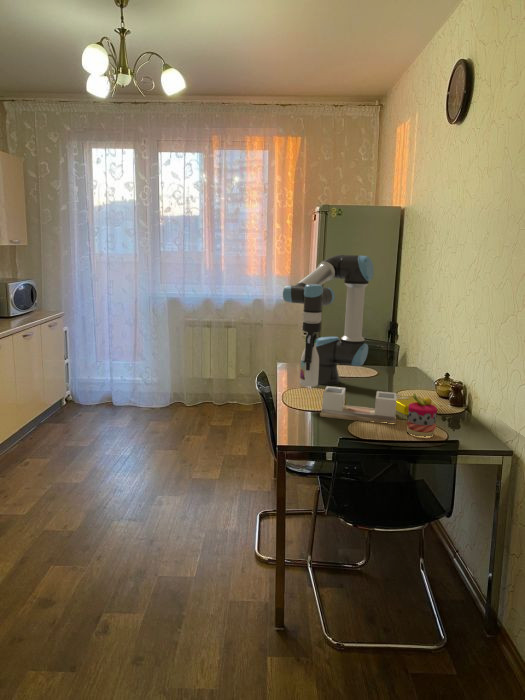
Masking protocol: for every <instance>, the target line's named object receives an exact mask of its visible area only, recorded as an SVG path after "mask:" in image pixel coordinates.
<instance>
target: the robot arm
mask: <svg viewBox="0 0 525 700" xmlns="http://www.w3.org/2000/svg"><path fill="white" fill-rule="evenodd" d="M374 270H375V269H374V263H373V261H372V259H371V257H370V256H367V255H360V254H359V255H355V254H353V255H348V254H337V255H334V256H331V257H328V258H326V259H324V260H323V261H321V262H320V263H318V265H317V266H316V269H314V270H313V271H311V272H310V273H309V274H308V275H306V276H305V277H304V278H302V279H301V280H300V281H298V282H297V283H296V284H295V285H293V284H291V285H286V286H284V288H283V291H282V297H283V301H284V302H286V303H291V304H302V305H303V312H302V314H301V316H303V317H302V321H303V322H302V331H303V332H305V333H307V335H306V336H305V340H306V342H305V343H306V344H305V347H304V349H305V360H304V361H303V362H305V376H304V377H305V378H311V370H312V361H311V360H312V351H313V347H314V342H315V339H316V340H317V341H316V350H317V352H318V355H319V375H318V385H326V386H328V385H329V386H330V385H337V384H339V383H340V374H339V370H338V368H337V367H338V364H341V365H348V366H351V367H353V366H354V367H361V366H363V365H364V363H365V361H366V360H367V357H368V353H369V345H368V344H367V343H365V338H364V337H363V322H364V307H365V294H366V293H365V292H366V287H367V286H368V285H369V282H370V281H372V280H373V278H374ZM333 279H337V280H338V279H340V280H343V281H344V283H343V284H344V285H345V286H346V299H345V300H346V301H345V303H346V304H345V319H344V333H343V334H344V335H343V336H341V337H340V338H339V337H338V336H321V337H317V333H320V332H321V331H322V328H321V327H322V326H321V325H322V323H321V322H322V313H323V312H322V309H323V307H324V306H326V307H327V306H329V305H331V304H332V303H333V302H334V301H335V299H336V293H335V291H334V290H333V289H332V288H331V287H324V286H323V285H324V283H327V282H328V281H331V280H333Z"/></svg>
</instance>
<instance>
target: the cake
mask: <svg viewBox="0 0 525 700" xmlns="http://www.w3.org/2000/svg"><path fill="white" fill-rule="evenodd" d="M412 396H413V397H414V399H415V400H416V401H417V402H415V403H411V404H409V408H408V411H409V412H408V413H409V414H408V415H406V416H407V418H406V419H407V421H406V422H405V423H406V425H407V426H406V433H407V432H408V433H410V434H412V435H415V436H424V437H426V436H432V435H434V436H435V430H436V429H437V423H436V422H437V421H436V418H437V414H438V407H437V406H436V405H435V406H434V405H432V404H431V403H433V401H432V399H431V398H430V397H424V398H423V399H424V400H423V402H421V401H420V400H418V399H417V397H416V396H417V395H416V393H413V395H412Z"/></svg>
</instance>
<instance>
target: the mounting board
mask: <svg viewBox="0 0 525 700" xmlns="http://www.w3.org/2000/svg"><path fill="white" fill-rule="evenodd" d="M374 414H375V407H367V406H357V405H347V404H346V405H345V404H344V408H343V411H334V410H325V409H322V408H321V411H320V413H319V417H323V418H330V419H339V420H340V419H341V420H348V421H349V420H350V421H355V422H357V420H358V422H365V421H374V422H387V423H396V424H397V411H396V412H395V417H389V416H380V415H374Z"/></svg>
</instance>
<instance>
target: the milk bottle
mask: <svg viewBox="0 0 525 700" xmlns="http://www.w3.org/2000/svg"><path fill="white" fill-rule="evenodd" d="M316 341H317V338H316V339H315V342H314V347H313V351H312V360H311V361H312V370H311V378H305V377H304V376H305V362H303V361H304V360H305V348H304V349H303V352H302V354H301V359H300V371H299V385H300V386H302V387H307V388H308V387H310V388H312V387H316V386H318V385H319V384H318V375H319V355H318V352H317V350H316ZM305 345H306V339H305Z"/></svg>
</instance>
